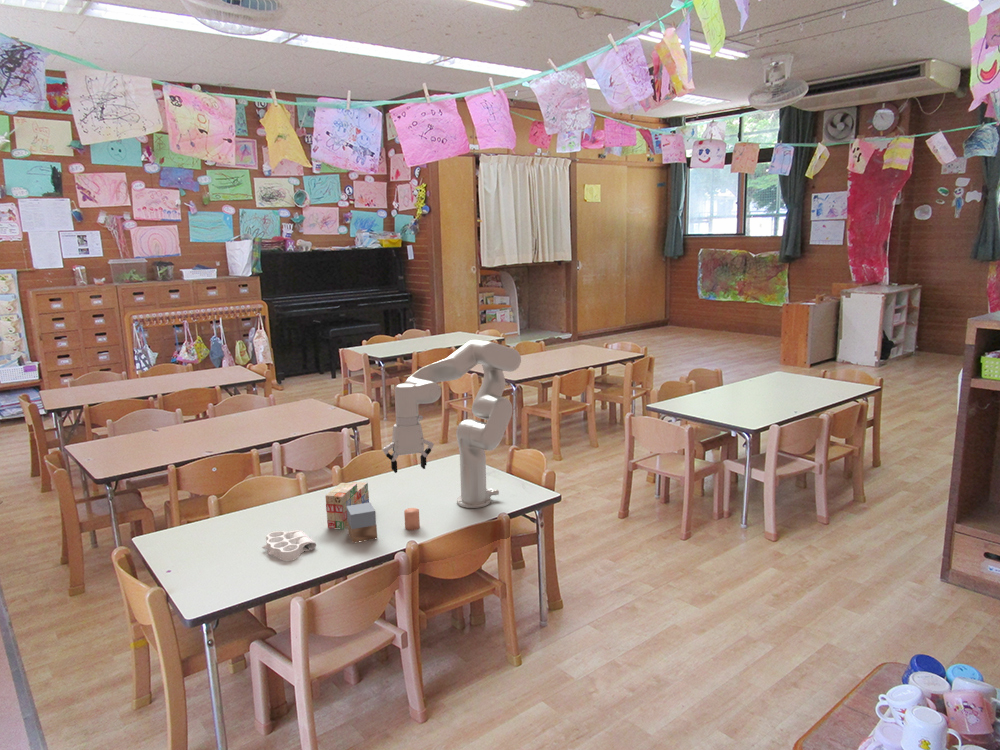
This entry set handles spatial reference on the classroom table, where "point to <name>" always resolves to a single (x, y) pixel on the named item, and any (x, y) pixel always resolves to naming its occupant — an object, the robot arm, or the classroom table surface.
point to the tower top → (361, 515)
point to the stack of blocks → (344, 502)
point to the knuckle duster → (288, 544)
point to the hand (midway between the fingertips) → (409, 469)
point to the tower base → (362, 533)
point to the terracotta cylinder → (412, 519)
